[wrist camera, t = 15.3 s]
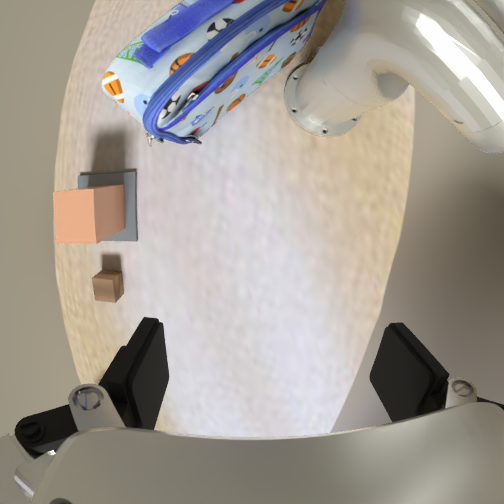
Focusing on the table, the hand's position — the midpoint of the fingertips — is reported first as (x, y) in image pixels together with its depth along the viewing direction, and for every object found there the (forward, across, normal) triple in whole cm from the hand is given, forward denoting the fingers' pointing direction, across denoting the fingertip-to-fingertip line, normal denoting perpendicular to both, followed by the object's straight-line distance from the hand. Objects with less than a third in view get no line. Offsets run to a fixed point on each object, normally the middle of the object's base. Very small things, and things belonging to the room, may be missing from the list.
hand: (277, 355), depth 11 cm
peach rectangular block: (+32, +24, -1) cm, 40 cm away
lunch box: (+34, +5, -22) cm, 40 cm away
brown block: (+33, +24, +12) cm, 42 cm away
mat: (+33, +24, -1) cm, 41 cm away
